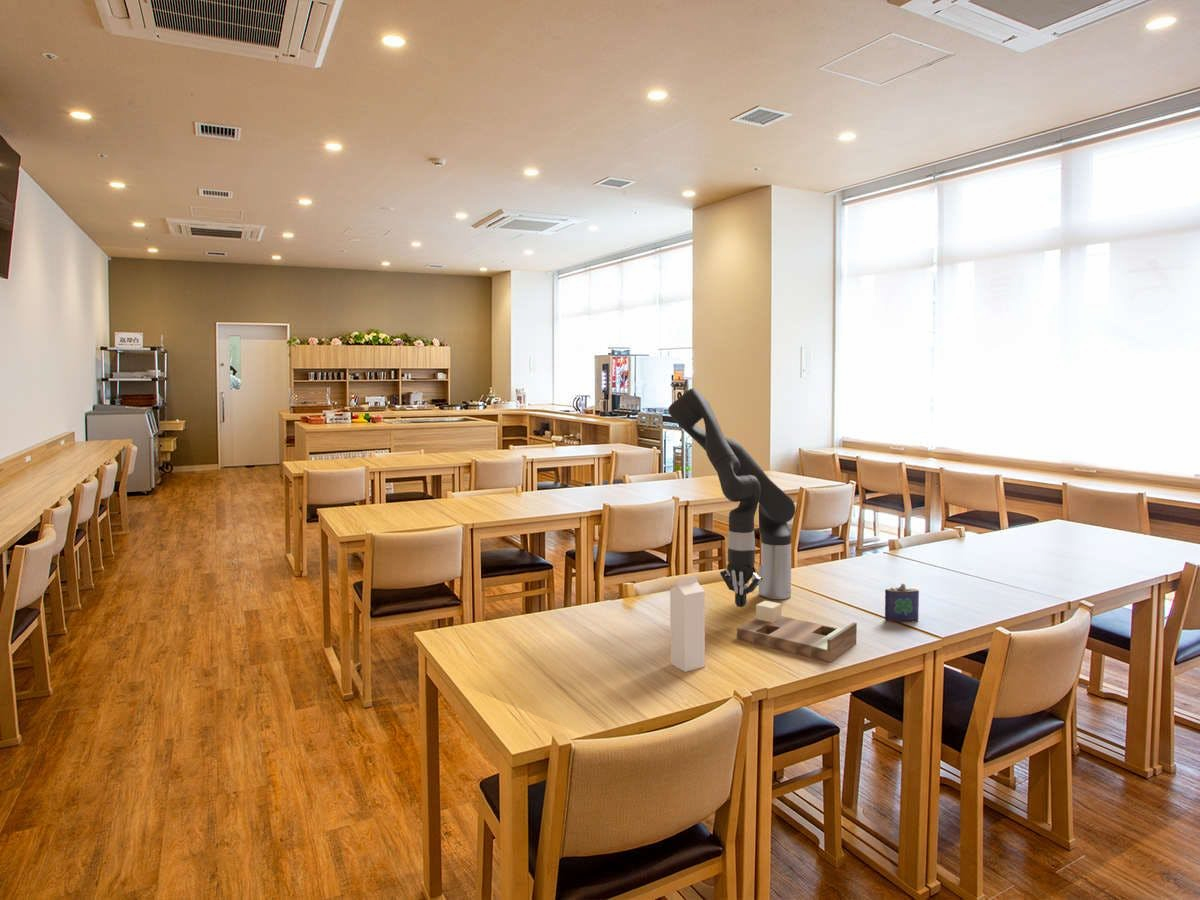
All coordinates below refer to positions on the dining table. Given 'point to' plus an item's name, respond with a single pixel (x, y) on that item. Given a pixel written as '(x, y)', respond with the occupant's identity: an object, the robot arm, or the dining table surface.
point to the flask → (901, 604)
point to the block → (768, 611)
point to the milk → (687, 624)
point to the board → (800, 637)
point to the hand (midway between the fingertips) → (740, 606)
